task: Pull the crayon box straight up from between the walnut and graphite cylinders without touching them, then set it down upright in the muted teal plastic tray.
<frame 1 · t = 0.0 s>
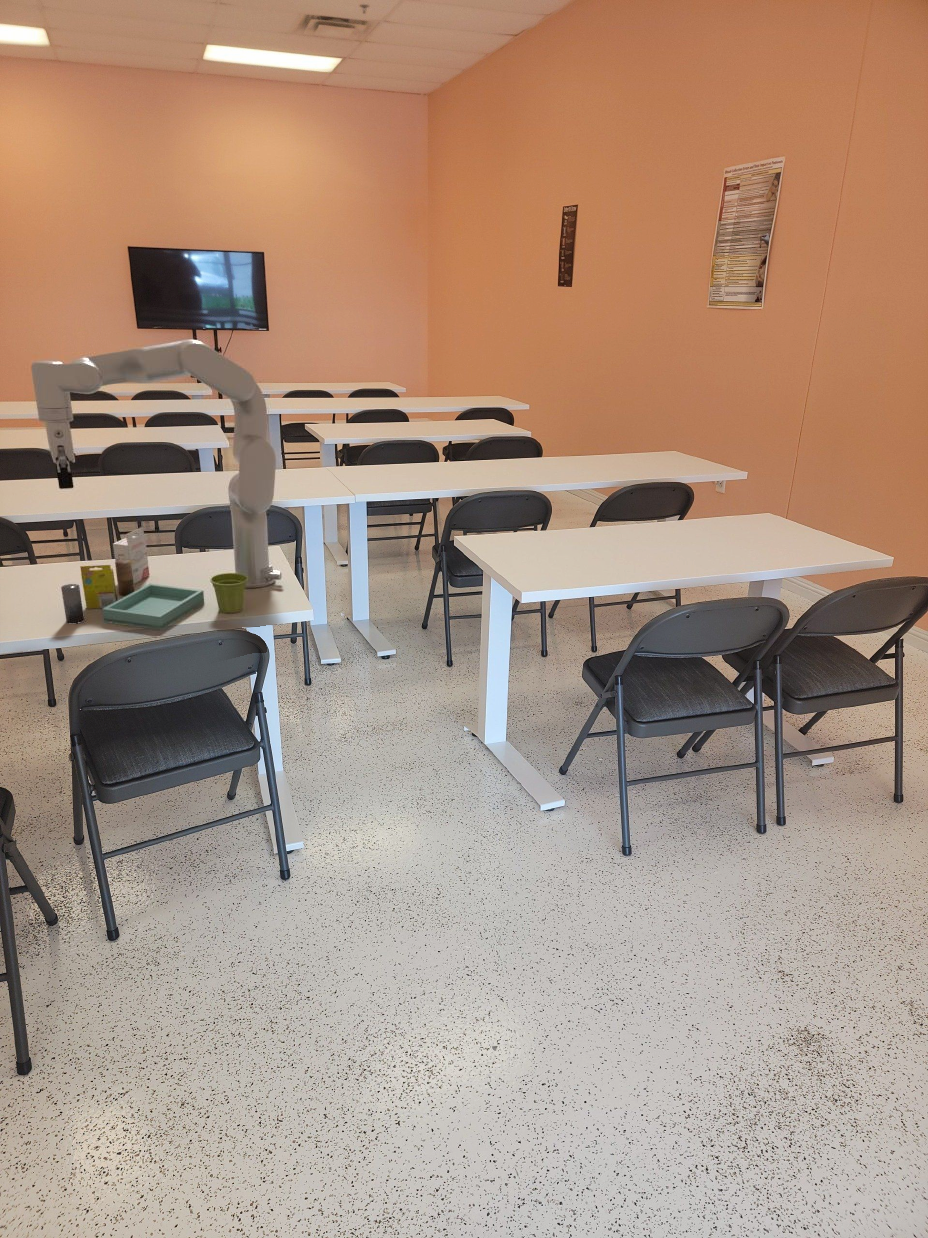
hand: (65, 484, 199), 31 cm above the table, tool pointing down, fingers open, 9 cm apart
plant pot: (231, 610, 210), on the table
ink cartridge box: (133, 580, 228), on the table
walnut cylinder: (126, 593, 217), on the table
teal tray: (155, 612, 206), on the table
crayon box: (102, 607, 208), on the table
graphite cylinder: (75, 620, 198), on the table
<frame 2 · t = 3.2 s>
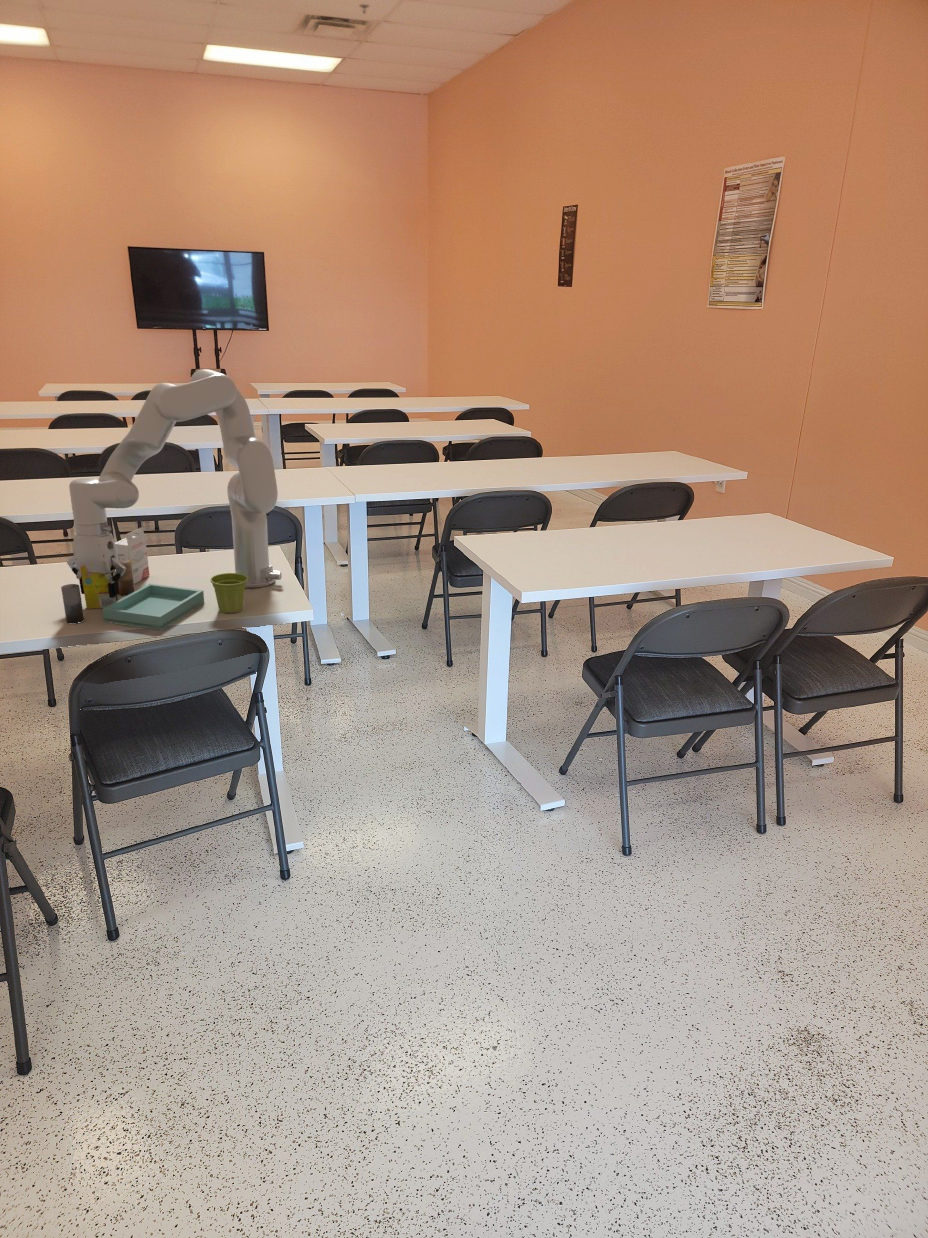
hand: (100, 593, 206), 3 cm above the table, tool pointing down, fingers closed on crayon box, 7 cm apart
crayon box: (102, 607, 208), on the table, touching gripper
everything else where it was.
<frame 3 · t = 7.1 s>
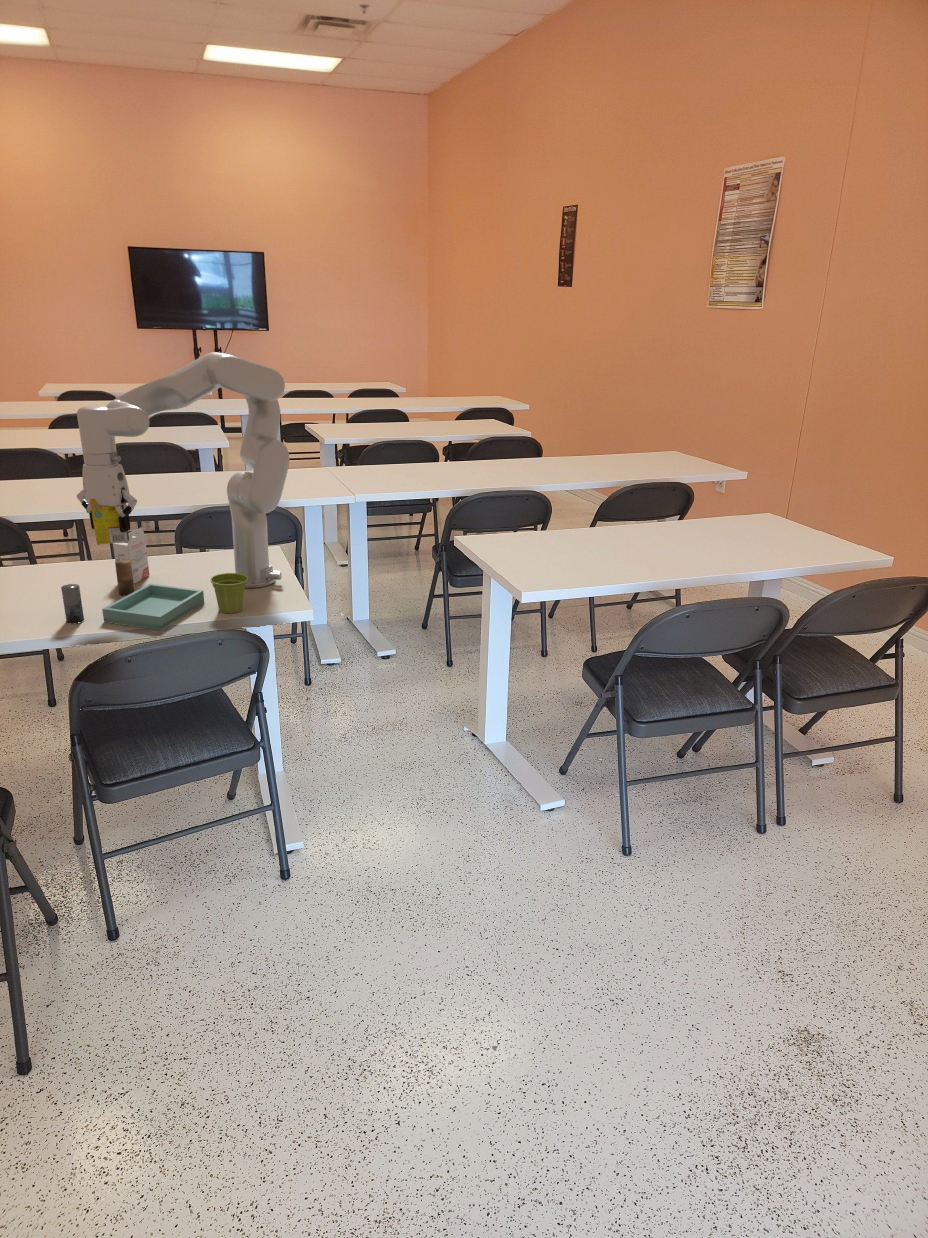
hand: (111, 528, 199), 21 cm above the table, tool pointing down, fingers closed on crayon box, 7 cm apart
crayon box: (113, 542, 201), point 18 cm above the table, touching gripper
everything else where it was.
when the fingers open (6 cm above the table, at t = 11.4 s): crayon box drops 1 cm, resting on teal tray.
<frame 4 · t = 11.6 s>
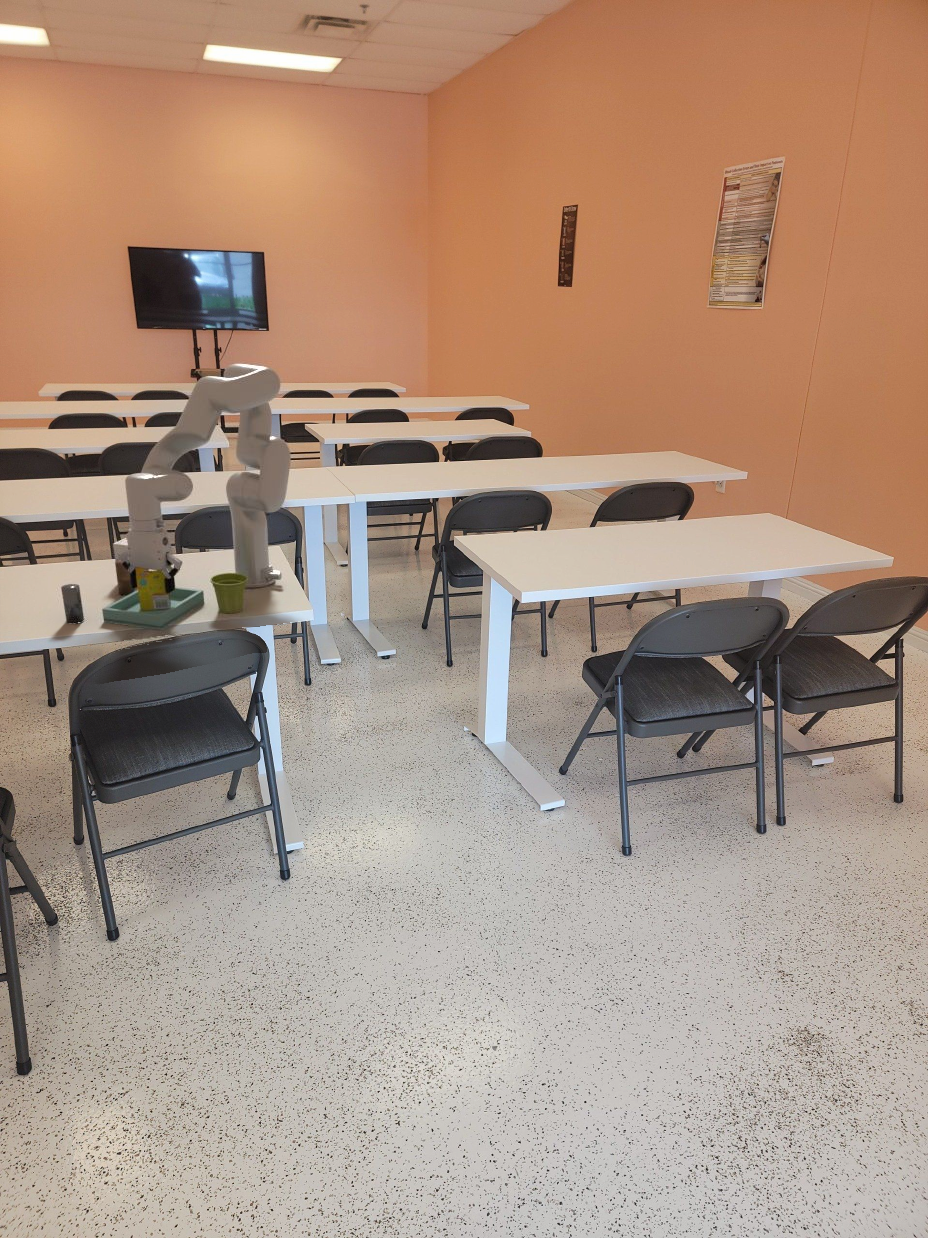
hand: (153, 589, 203), 6 cm above the table, tool pointing down, fingers open, 9 cm apart
crayon box: (155, 608, 206), point 1 cm above the table, touching teal tray
everything else where it was.
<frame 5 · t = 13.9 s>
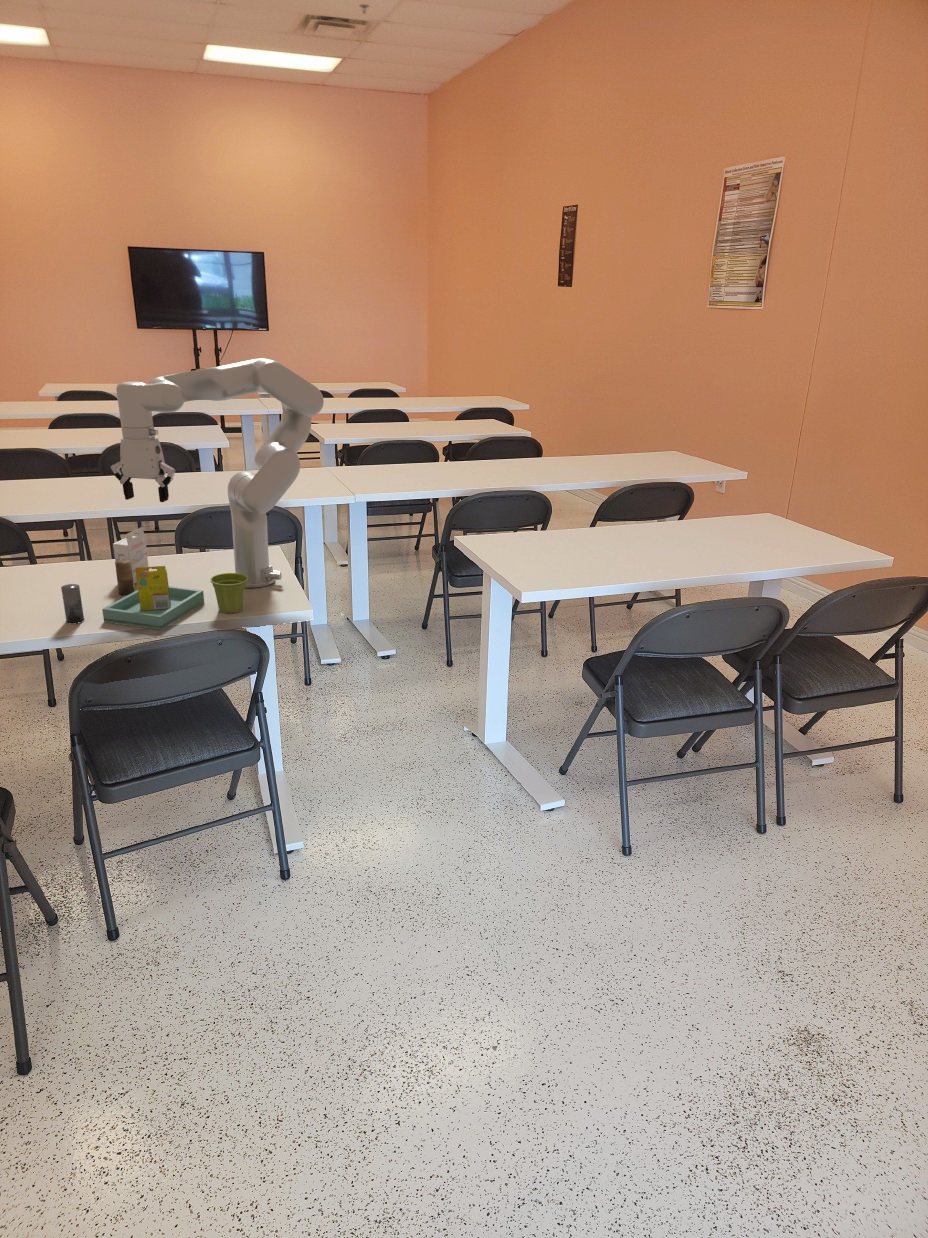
hand: (146, 499, 207), 27 cm above the table, tool pointing down, fingers open, 9 cm apart
nothing on the table moved.
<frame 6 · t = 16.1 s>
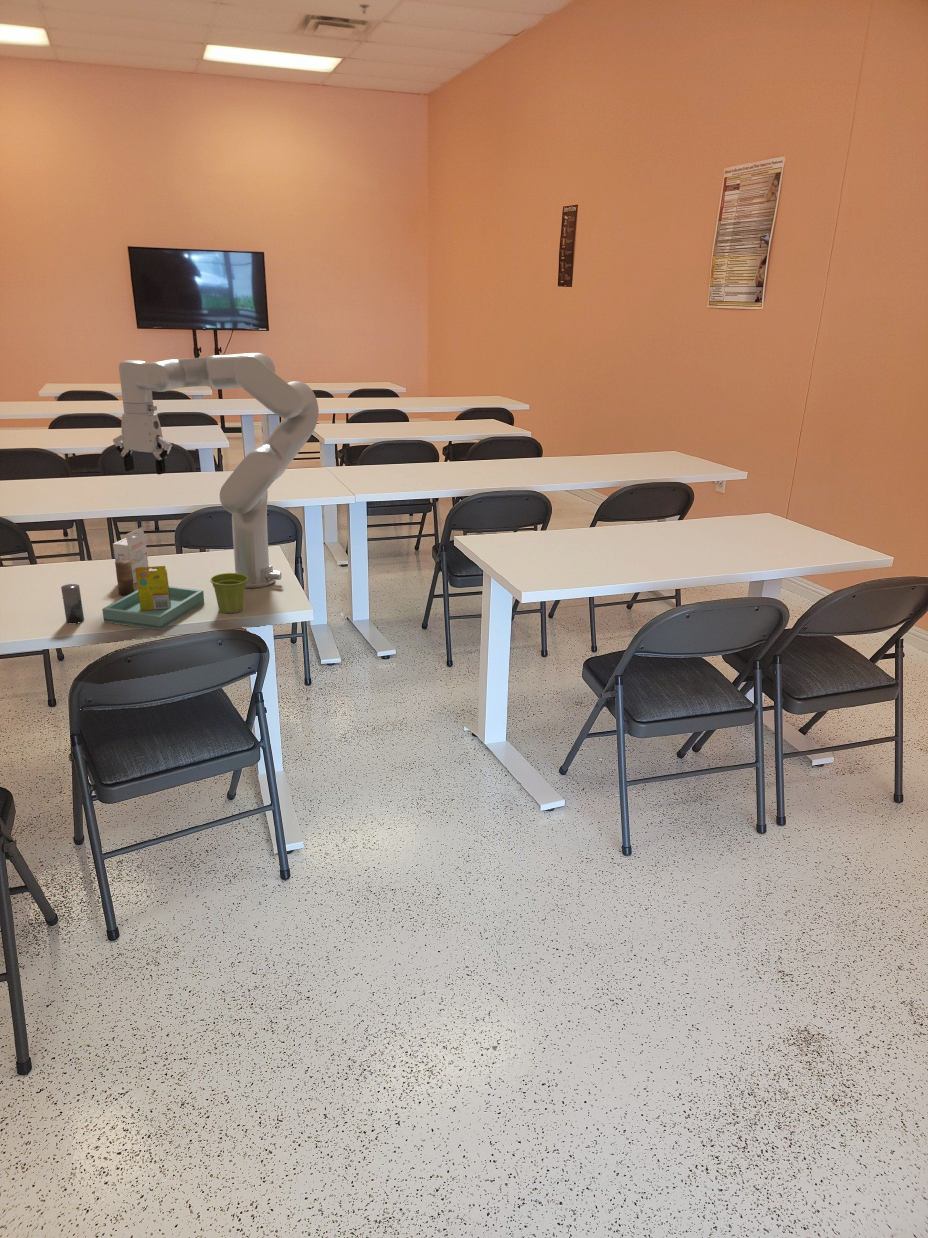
hand: (145, 471, 220), 30 cm above the table, tool pointing down, fingers open, 9 cm apart
nothing on the table moved.
at the end: crayon box inside the target area on the teal tray (0.2 cm from its centre), point 0.8 cm above the teal tray's base; walnut cylinder moved 0.0 cm from its start; graphite cylinder moved 0.0 cm from its start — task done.
